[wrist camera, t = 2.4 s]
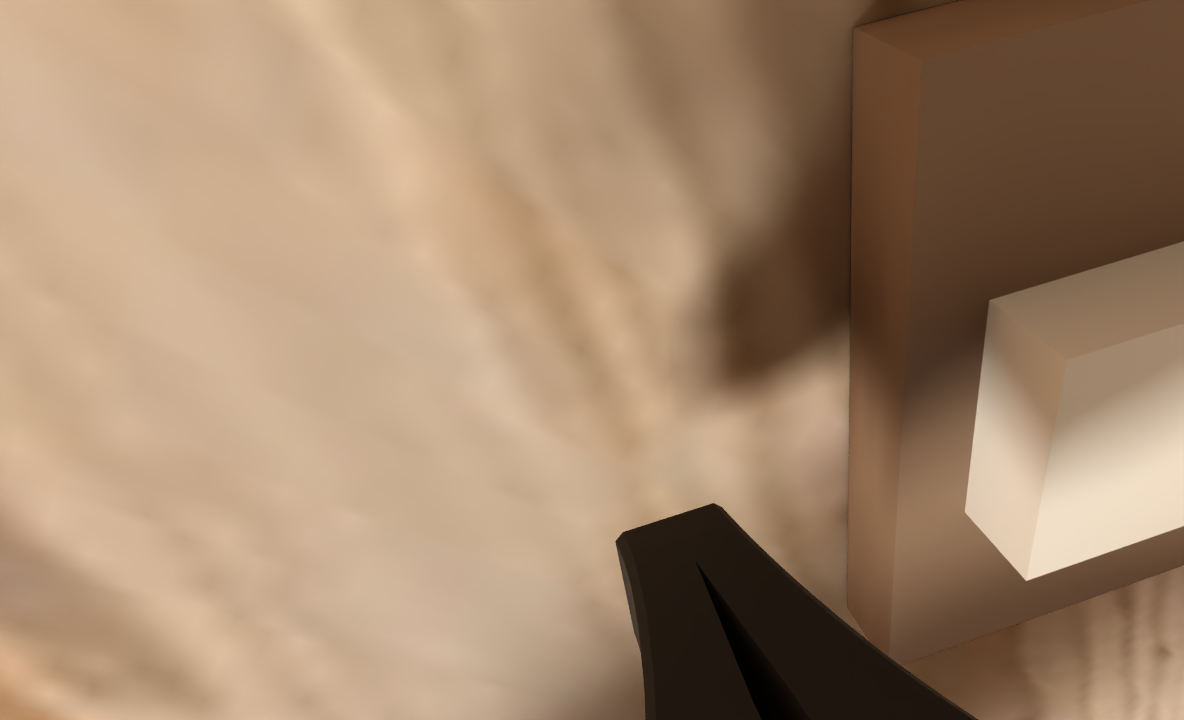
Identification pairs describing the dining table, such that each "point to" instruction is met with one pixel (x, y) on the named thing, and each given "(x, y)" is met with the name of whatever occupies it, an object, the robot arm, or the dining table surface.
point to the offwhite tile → (1082, 414)
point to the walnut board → (986, 273)
